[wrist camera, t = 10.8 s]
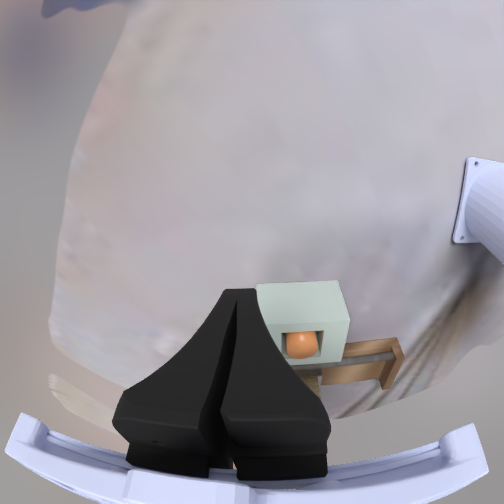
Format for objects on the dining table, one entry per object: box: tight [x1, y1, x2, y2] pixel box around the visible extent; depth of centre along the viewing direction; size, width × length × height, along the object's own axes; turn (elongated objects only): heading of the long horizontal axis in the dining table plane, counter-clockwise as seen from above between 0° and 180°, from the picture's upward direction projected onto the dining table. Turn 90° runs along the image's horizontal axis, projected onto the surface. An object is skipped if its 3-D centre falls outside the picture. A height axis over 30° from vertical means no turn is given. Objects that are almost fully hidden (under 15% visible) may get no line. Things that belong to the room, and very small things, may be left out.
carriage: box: [294, 369, 322, 400], centre depth 27 cm, size 5×4×5 cm
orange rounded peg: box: [286, 331, 318, 359], centre depth 22 cm, size 2×2×3 cm
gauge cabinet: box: [256, 280, 350, 365], centre depth 24 cm, size 7×5×5 cm
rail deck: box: [290, 338, 405, 390], centre depth 29 cm, size 15×6×3 cm, turn 94°
